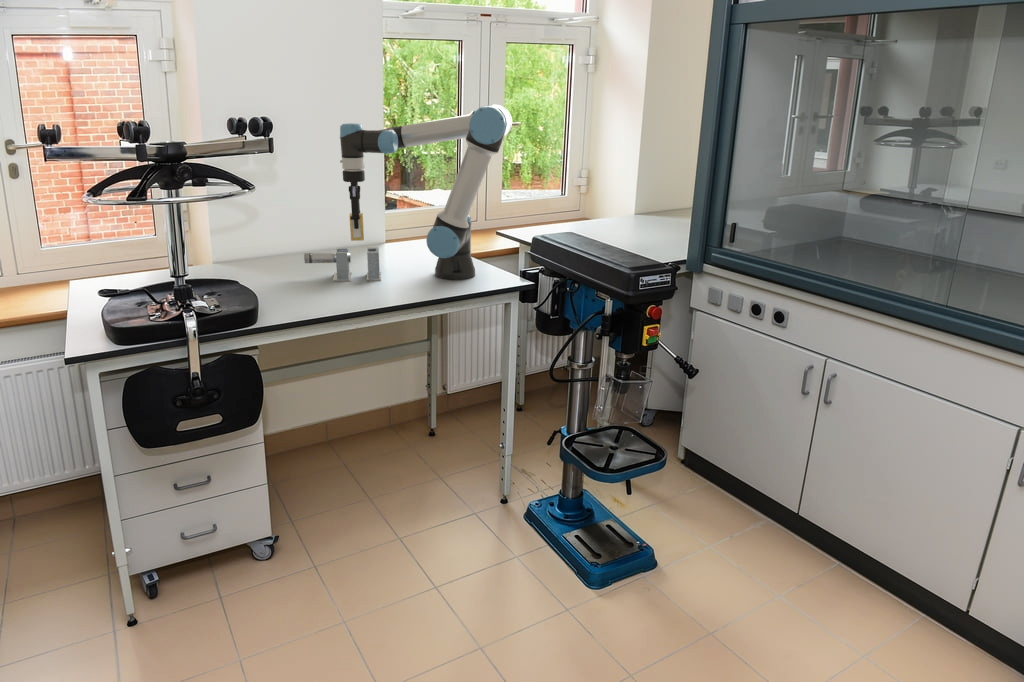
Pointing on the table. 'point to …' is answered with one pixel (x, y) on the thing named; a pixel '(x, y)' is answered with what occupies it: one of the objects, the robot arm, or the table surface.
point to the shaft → (322, 257)
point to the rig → (343, 265)
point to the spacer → (360, 227)
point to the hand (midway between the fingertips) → (357, 235)
